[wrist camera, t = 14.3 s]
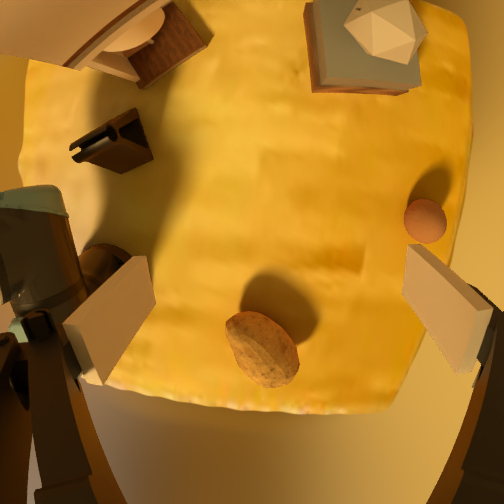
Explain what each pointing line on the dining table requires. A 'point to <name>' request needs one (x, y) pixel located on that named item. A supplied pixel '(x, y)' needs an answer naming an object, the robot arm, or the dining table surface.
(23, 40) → the display case
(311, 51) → the block
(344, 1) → the block
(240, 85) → the dining table surface
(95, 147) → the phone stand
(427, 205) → the egg
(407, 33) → the die
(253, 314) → the potato
